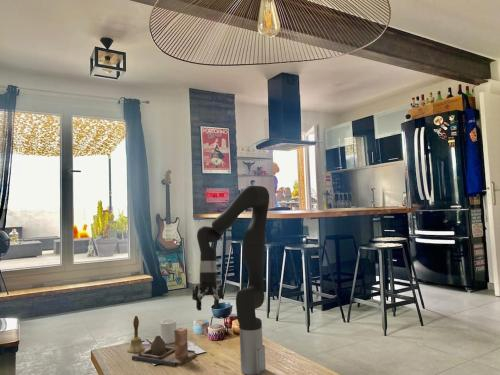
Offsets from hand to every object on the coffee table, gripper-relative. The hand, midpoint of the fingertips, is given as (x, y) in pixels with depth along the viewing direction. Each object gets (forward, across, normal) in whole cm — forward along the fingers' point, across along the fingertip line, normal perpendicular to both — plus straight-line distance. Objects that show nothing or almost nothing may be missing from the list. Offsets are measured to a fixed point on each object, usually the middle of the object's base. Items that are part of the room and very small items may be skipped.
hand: (207, 309), depth 165 cm
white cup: (+18, +3, +42) cm, 46 cm away
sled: (+21, -7, +22) cm, 31 cm away
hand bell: (+20, -14, +43) cm, 49 cm away
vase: (+22, -10, +27) cm, 36 cm away
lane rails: (+21, -8, +24) cm, 33 cm away
